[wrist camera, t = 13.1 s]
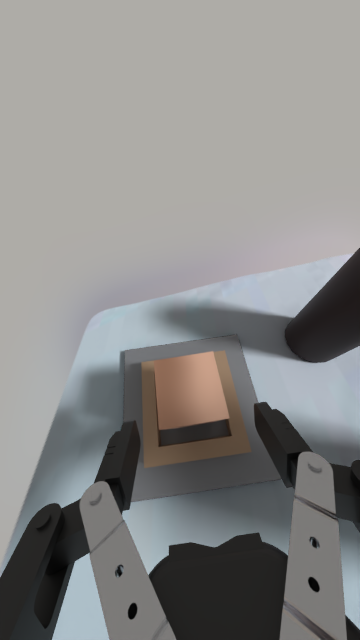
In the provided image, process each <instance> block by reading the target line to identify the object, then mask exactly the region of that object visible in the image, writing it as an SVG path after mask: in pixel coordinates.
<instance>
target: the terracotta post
mask: <svg viewBox="0 0 360 640" xmlns="http://www.w3.org/2000/svg"><path fill="white" fill-rule="evenodd" d="M154 371H155V384H156V397H157V410H158V423H159V430H165V429H175V428H181V427H187V426H193V425H199V424H205V423H211V422H216V421H220V420H224V419H228V418H230V417H229V413H228V409H227V405H226V401H225V397H224V393H223V389H222V385H221V381H220V377H219V373H218V369H217V365H216V361H215V357H214V353H213V351H211V352H205V353H199V354H192V355H186V356H180V357H174V358H167V359H161V360H155V361H154Z"/></svg>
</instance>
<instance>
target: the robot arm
mask: <svg viewBox="0 0 360 640" xmlns="http://www.w3.org/2000/svg"><path fill="white" fill-rule="evenodd" d="M254 422H255V427H256V430H257V432H258V434H259V436H260V438H261V440H262V442H263V444H264V446H265V448H266V450H267V452H268V454H269V455H270V457H271V459H272V461H273V463H274V465H275V467H276V469H277V471H278V473H279V475H280V477H281V478H282V480H283V482H284V484H285V486H286V488H288V487H293V488H294V489H295V495H294V502H293V512H292V522H291V533H290V543H289V553H288V555H286V554H285V553H284V552H283V551H281V550H280V549H278V548H276V547H274V546H273V545H270V544H268V543H265V542H262V541H261V537H260V534H259V533H253V534H246V535H239V536H236V537H234V538H232V539H230V540H229V541H227V542H225V543H223V544H222V545H220V546H218V547H215V548H214V547H209V546H204V545H200V544H196V543H184V544H177V545H170V546H169V556H167V557H165V558H164V559H163V560H161V561H160V562H159V563H158V564H157V565H156V566H155V567H154V569H153V570H152V571H151V572H150V574H149V575H148V574H147V572H146V569H145V567H144V565H143V562H142V560H141V558H140V555H139V553H138V551H137V548H136V546H135V544H134V541H133V539H132V537H131V534H130V532H129V529H128V527H127V525H126V523H125V521H124V520H123V518H122V512H123V511H124V510H129V509H130V503H131V498H132V492H133V487H134V481H135V475H136V470H137V464H138V459H139V453H140V446H141V442H140V435H139V431H138V427H137V423H136V421H135V420H133V421H126V422H123V425H122V428H121V431H118V432H115V433H114V435H113V436H112V437H111V439H110V441H109V444H108V446H107V449H106V452H105V456H104V457H103V460H102V463H101V465H100V468H99V471H98V474H97V476H96V479H95V482H94V484H93V485H91V486H90V487H89V488H88V489H87V490H86V491H85V493H84V494H83V496H82V498H81V499H79V500H78V501H76V502H74V503H72V504H70V505H68V506H66V507H64V508H61V507H60V505H59V504H57V503H52V504H49V505H47V506H45V507H43V508H42V509H41V510H40V511H38V512H37V513H36V514H35V516H34V517H33V518H32V519H31V521H30V522H29V524H28V526H27V528H26V530H25V531H24V533H23V535H22V537H21V539H20V541H19V543H18V545H17V547H16V549H15V551H14V553H13V554H12V556H11V558H10V560H9V562H8V564H7V566H6V568H5V570H4V572H3V574H2V576H1V577H0V640H52V637H53V634H54V630H55V627H56V623H57V620H58V617H59V613H60V610H61V607H62V603H63V600H64V596H65V593H66V590H67V586H68V583H69V579H70V576H71V573H72V569H73V566H74V563H75V561H76V560H78V559H79V558H81V557H83V556H85V555H86V554H88V553H90V559H91V564H92V568H93V572H94V576H95V581H96V585H97V589H98V593H99V597H100V602H101V606H102V610H103V614H104V618H105V622H106V627H107V631H108V635H109V639H110V640H360V630H359V629H358V628H357V627H356V625H355V624H354V623H353V622H352V621H351V620H350V619H349V618H348V617H347V616H346V615H345V606H344V593H343V579H342V565H341V552H340V538H339V525H338V518H341V519H345V520H349V521H353V523H354V524H355V526H356V527H357V529H358V531H359V532H360V460H356V461H354V462H353V463H352V466H351V467H347V466H341V465H335V464H331V463H328V462H327V460H325V459H324V458H323V457H322V456H320V455H318V454H316V453H313V451H312V450H311V449H310V448H309V446H308V445H307V444H306V442H305V441H304V440H303V439H302V437H301V436H300V435H299V433H298V432H297V431H296V429H294V427H293V426H292V424H291V423H290V422H289V420H288V419H287V418H286V416H285V415H284V414H283V413H281V412H280V411H278V410H277V409H273V410H272V409H271V408H270V406H269V405H268V404H267V402H261V403H254Z"/></svg>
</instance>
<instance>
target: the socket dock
mask: <svg viewBox="0 0 360 640" xmlns="http://www.w3.org/2000/svg"><path fill="white" fill-rule="evenodd" d="M211 351H213V353H214V357H215V361H216V365H217V369H218V373H219V377H220V381H221V385H222V389H223V393H224V397H225V401H226V405H227V409H228V413H229V417H230V418H228V419H224V420H220V421H216V422H211V423H205V424H199V425H193V426H187V427H181V428H175V429H165V430H159V423H158V410H157V397H156V384H155V371H154V361H155V360H161V359H167V358H174V357H180V356H186V355H192V354H199V353H205V352H211ZM254 403H258V400H257V397H256V393H255V390H254V387H253V384H252V380H251V377H250V374H249V371H248V368H247V364H246V361H245V358H244V355H243V352H242V348H241V345H240V342H239V339H238V336H237V334H236V335H229V336H222V337H215V338H208V339H201V340H194V341H187V342H180V343H173V344H166V345H159V346H152V347H145V348H138V349H131V350H125V369H124V416H123V422H126V421H133V420H135V421H136V423H137V427H138V431H139V435H140V442H141V446H140V453H139V459H138V464H137V470H136V475H135V481H134V487H133V492H132V498H131V502H135V501H142V500H149V499H155V498H162V497H168V496H175V495H181V494H188V493H194V492H201V491H207V490H214V489H221V488H227V487H234V486H240V485H247V484H253V483H260V482H266V481H273V480H279V479H282V478H281V477H280V475H279V473H278V471H277V469H276V467H275V465H274V463H273V461H272V459H271V457H270V455H269V454H268V452H267V450H266V448H265V446H264V444H263V442H262V440H261V438H260V436H259V434H258V432H257V430H256V427H255V422H254Z"/></svg>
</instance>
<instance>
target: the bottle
mask: <svg viewBox="0 0 360 640" xmlns="http://www.w3.org/2000/svg"><path fill="white" fill-rule="evenodd" d="M285 338H286V341H287V344H288V346H289V347H290V348H291V350H292V351H293V352H294V353H295V354H297V355H298V356H299V357H301V358H303V359H305V360H307V361H311V362H315V363H317V362H327V361H329V360H331V359H333V358H336V357H338V356H340V355H342V354H344V353H346V352H348V351H350V350H352V349H354V348H356V347H358V346H360V248H359V249H358V250H357V251H356V252H355V253H354V255H353V256H352V257H351V258H350V259H349V260H348V261H347V262H346V263H345V264H344V265H343V266H342V267H341V268H340V270H339V271H338V272H337V273H336V274H335V275H334V276H333V277H332V278H331V279H330V280H329V281H328V282H327V283H326V285H325V286H324V287H323V288H322V289H321V290H320V291H319V292H318V293H317V294H316V295H315V296H314V297H313V298H312V300H311V301H310V302H309V303H308V304H307V305H306V306H305V307H304V308H303V309H302V310H301V311H300V312H299V313H298V315H297V316H296V317H295V318H294V319H293V320H292V321H291V322H290V323H289V324H288V326H287V328H286V330H285Z"/></svg>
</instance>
